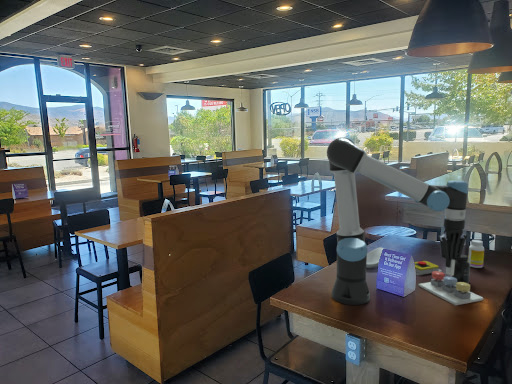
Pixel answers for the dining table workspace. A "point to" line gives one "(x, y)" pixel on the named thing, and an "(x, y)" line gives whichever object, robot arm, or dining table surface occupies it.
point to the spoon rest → (373, 257)
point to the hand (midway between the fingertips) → (449, 274)
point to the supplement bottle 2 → (476, 254)
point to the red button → (438, 275)
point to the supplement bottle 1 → (462, 269)
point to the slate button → (450, 281)
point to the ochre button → (463, 287)
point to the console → (449, 292)
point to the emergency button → (425, 267)
